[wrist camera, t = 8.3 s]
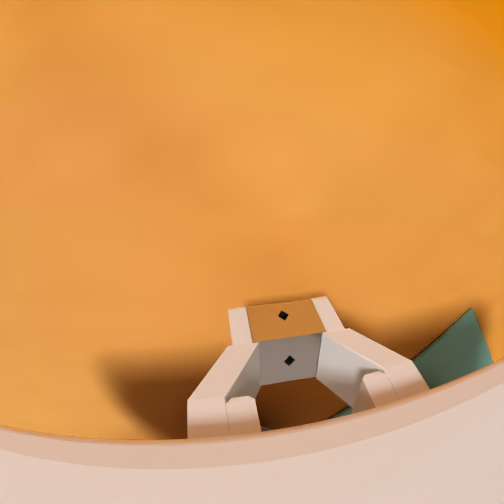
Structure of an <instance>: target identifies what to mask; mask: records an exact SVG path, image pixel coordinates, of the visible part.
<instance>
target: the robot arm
mask: <svg viewBox="0 0 504 504" xmlns="http://www.w3.org/2000/svg"><path fill="white" fill-rule="evenodd" d="M228 315H229V324H230V333H231V342H232V345H231V346H227V348H226V349H225V350H224V352H223V353H222V354H221V356H220V357H219V358H218V360H217V361H216V363H215V364H214V365H213V367H212V368H211V369H210V371H209V372H208V373H207V375H206V376H205V377H204V379H203V380H202V381H201V383H200V384H199V385H198V387H197V388H196V389H195V391H194V392H193V393H192V395H191V396H190V397H189V399H188V400H187V431H188V439H167V440H127V439H103V438H88V437H77V436H67V435H58V434H50V433H43V432H36V431H30V430H24V429H18V428H13V427H8V426H3V425H0V504H504V358H502V359H500V360H498V361H496V362H494V363H492V364H490V365H488V366H486V367H483V368H481V369H479V370H477V371H475V372H472V373H470V374H468V375H465V376H463V377H461V378H458V379H456V380H453V381H451V382H448V383H446V384H443V385H441V386H438V387H435V388H433V389H429V387H428V385H427V384H426V382H425V381H424V379H423V377H422V376H421V374H420V373H419V371H418V370H417V368H416V366H415V365H414V363H413V362H412V361H411V360H409V359H407V358H405V357H403V356H401V355H400V354H398V353H396V352H394V351H392V350H390V349H388V348H386V347H384V346H382V345H380V344H379V343H377V342H375V341H373V340H371V339H369V338H367V337H365V336H363V335H361V334H360V333H358V332H356V331H354V330H352V329H350V328H347V329H345V328H344V326H343V324H342V323H341V321H340V319H339V317H338V315H337V314H336V312H335V310H334V308H333V306H332V305H331V303H330V301H329V299H328V298H327V297H326V296H321V297H315V298H310V299H305V300H298V301H291V302H283V303H273V304H263V305H253V306H243V307H233V308H228ZM311 377H316V379H318V380H319V381H320V382H321V383H322V384H324V385H325V386H326V387H327V388H329V389H330V390H331V391H332V392H333V393H335V394H336V395H337V396H338V397H340V398H341V399H342V400H343V401H345V402H346V403H347V404H348V405H350V406H351V407H352V408H353V409H352V412H351V414H349V415H345V416H341V417H337V418H333V419H328V420H324V421H319V422H314V423H309V424H304V425H299V426H294V427H288V428H282V429H276V430H269V431H261V427H260V422H259V417H258V412H257V407H256V402H255V398H256V396H257V394H258V392H259V390H260V388H261V386H262V385H268V384H274V383H279V382H285V381H291V380H298V379H305V378H311Z"/></svg>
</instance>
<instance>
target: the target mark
mask: <svg viewBox="0 0 504 504" xmlns="http://www.w3.org/2000/svg"><path fill="white" fill-rule="evenodd" d="M412 362H413V363H414V365H415V366H416V368H417V370H418V371H419V373H420V374H421V376H422V377H423V379H424V381H425V382H426V384H427V385H428V387H429V389H433V388H435V387H438V386H441V385H443V384H446V383H448V382H451V381H453V380H456V379H458V378H461V377H463V376H465V375H468V374H470V373H472V372H475V371H477V370H479V369H481V368H483V367H486V366H488V365H490V364H492V363H493V361H492V358H491V355H490V352H489V349H488V347H487V344H486V341H485V339H484V336H483V334H482V331H481V329H480V326H479V324H478V321H477V319H476V317H475V314H474V312H473V310H472V309H471V308H470V309H469V310H468V311H467V312H466V313H465V314H464V315H463V316H462V317H461V318H460V319H459V320H458V321H456V322H455V323H454V324H453V325H452V326H451V327H450V328H449V329H448V330H447V331H446V332H445V333H443V334H442V335H441V336H440V337H439V338H438V339H437V340H436V341H434V342H433V343H432V344H431V345H430V346H429V347H427V348H426V349H425V350H424V351H423V352H421V353H420V354H419V355H418V356H417V357H415V358H414V359H413V360H412ZM352 409H353V408H352V407H351V406H349V407H347V408H346V409H344V410H343V411H341V412H340V413H338V414H336V415H335V416H333V417H332V418H330V419H333V418H337V417H341V416H345V415H349V414H351V412H352Z"/></svg>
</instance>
